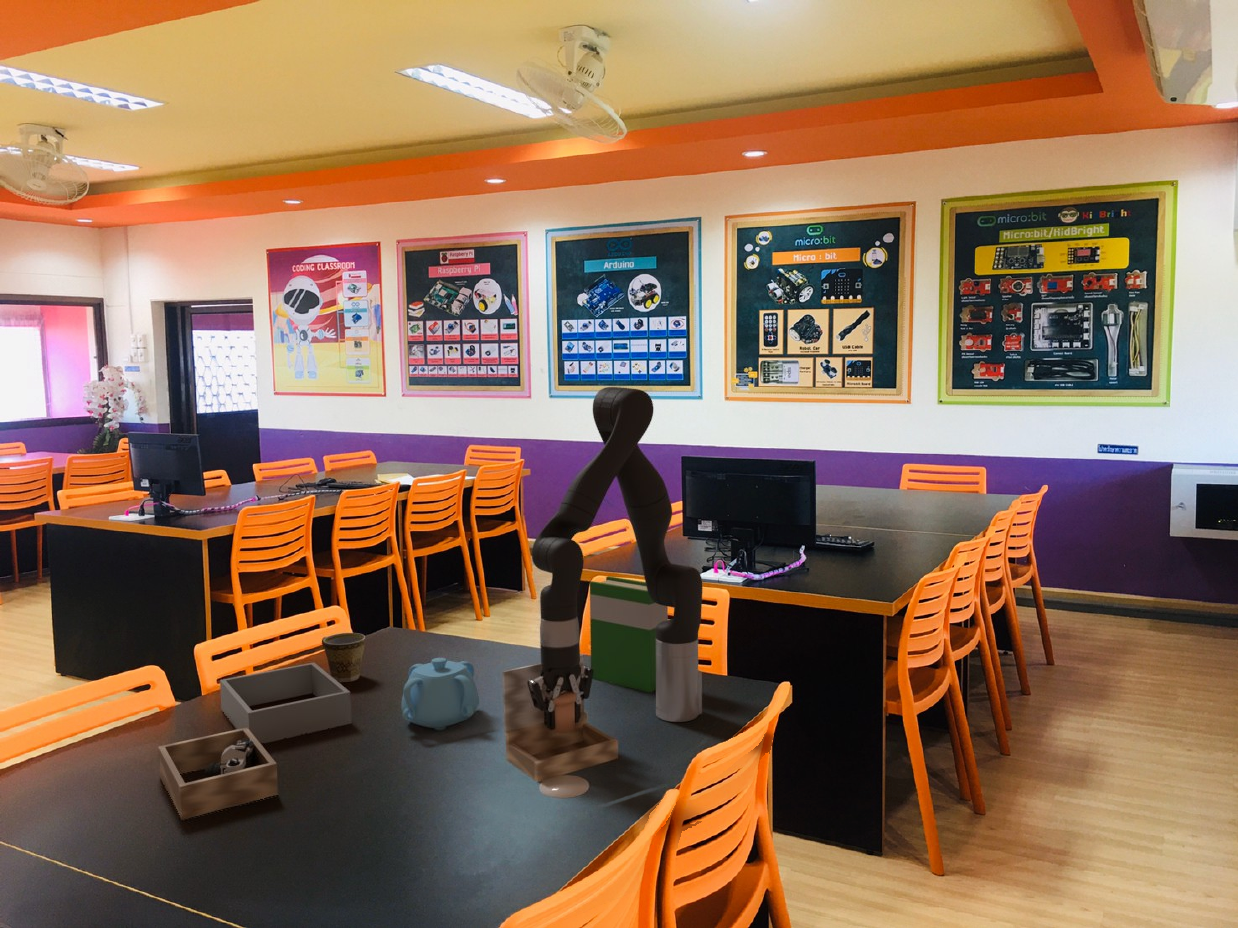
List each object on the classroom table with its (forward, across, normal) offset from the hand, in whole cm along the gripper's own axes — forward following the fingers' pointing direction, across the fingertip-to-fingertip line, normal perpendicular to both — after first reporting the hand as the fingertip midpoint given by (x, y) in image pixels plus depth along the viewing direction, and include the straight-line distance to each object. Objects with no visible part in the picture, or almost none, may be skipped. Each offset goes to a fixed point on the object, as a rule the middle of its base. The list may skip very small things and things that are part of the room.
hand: (562, 724), depth 184 cm
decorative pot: (+7, +11, -34) cm, 36 cm away
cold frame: (+7, 0, 0) cm, 7 cm away
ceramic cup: (+8, +19, -75) cm, 77 cm away
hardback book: (+8, -37, -30) cm, 48 cm away
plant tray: (+7, +38, -56) cm, 67 cm away
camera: (+7, +56, -25) cm, 62 cm away
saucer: (+7, +6, +11) cm, 14 cm away
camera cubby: (+6, +58, -27) cm, 64 cm away
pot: (+1, 0, 0) cm, 1 cm away
